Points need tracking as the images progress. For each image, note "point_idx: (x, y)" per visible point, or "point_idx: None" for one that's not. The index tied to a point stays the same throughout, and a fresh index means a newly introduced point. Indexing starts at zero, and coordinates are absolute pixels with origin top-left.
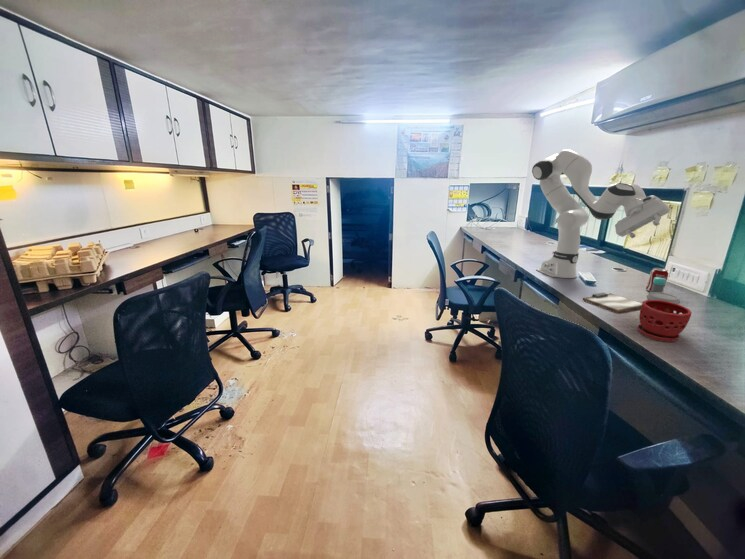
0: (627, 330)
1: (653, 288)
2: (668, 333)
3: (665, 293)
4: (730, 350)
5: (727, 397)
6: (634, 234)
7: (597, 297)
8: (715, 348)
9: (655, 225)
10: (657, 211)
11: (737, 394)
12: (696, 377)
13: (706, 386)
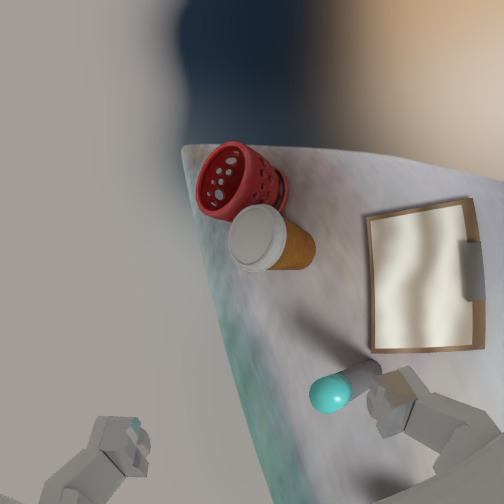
0: (295, 162)
1: (348, 372)
2: (235, 181)
3: (258, 263)
4: (210, 266)
5: (185, 150)
6: (379, 416)
7: (463, 247)
8: (219, 250)
9: (142, 430)
10: (5, 499)
11: (183, 164)
12: (203, 150)
13: (195, 147)
